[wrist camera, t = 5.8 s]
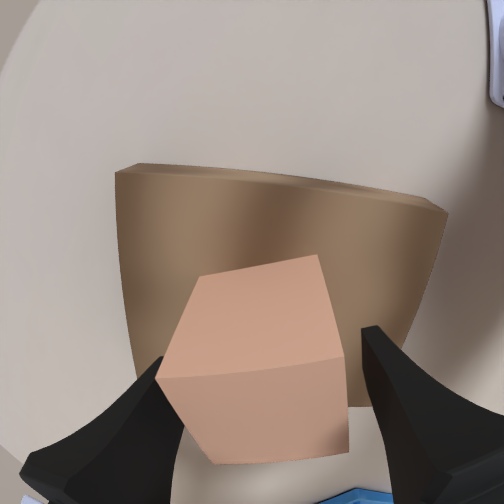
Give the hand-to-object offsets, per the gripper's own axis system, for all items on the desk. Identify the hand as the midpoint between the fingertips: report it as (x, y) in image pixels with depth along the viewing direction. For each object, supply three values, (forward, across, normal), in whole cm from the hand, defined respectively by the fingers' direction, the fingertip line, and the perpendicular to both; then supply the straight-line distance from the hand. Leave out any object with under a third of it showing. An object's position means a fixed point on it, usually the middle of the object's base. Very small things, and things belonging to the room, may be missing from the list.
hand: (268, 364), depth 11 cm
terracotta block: (+3, 0, 0) cm, 3 cm away
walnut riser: (+6, 0, 0) cm, 6 cm away
